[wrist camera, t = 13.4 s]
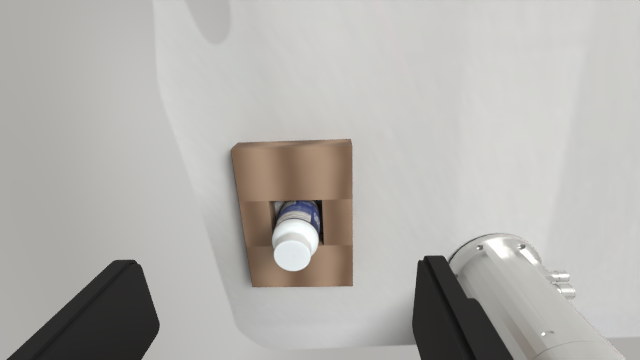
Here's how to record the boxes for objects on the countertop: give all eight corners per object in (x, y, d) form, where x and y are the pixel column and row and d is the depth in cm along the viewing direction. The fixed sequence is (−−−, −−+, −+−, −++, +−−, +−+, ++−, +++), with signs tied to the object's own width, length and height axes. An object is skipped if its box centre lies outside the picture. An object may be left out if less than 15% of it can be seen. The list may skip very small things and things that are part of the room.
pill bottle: (317, 232, 42) (313, 280, 33) (279, 227, 42) (265, 273, 33) (323, 198, 40) (320, 238, 31) (283, 192, 40) (269, 231, 31)
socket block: (350, 139, 37) (352, 145, 34) (351, 271, 44) (352, 286, 42) (238, 142, 38) (230, 149, 35) (257, 273, 45) (252, 287, 42)
